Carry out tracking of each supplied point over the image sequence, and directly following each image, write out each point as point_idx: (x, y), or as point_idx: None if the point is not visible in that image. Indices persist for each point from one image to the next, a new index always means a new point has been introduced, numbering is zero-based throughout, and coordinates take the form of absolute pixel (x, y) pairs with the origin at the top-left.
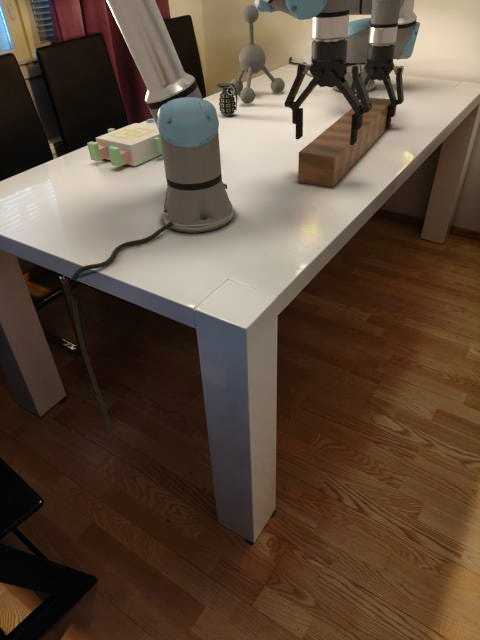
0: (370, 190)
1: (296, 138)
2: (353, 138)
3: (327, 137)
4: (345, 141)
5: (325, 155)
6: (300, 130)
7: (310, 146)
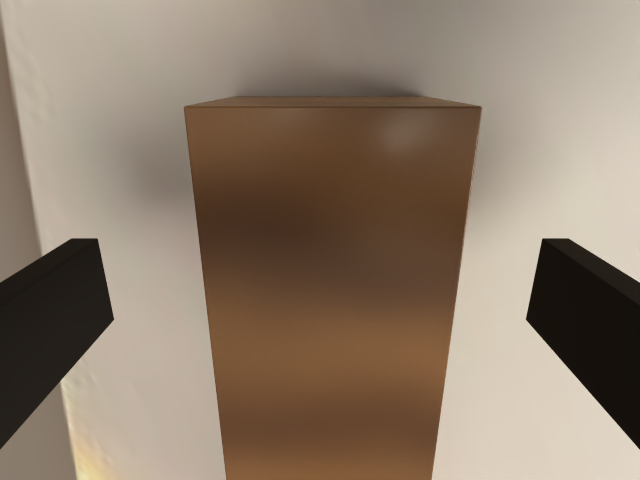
0: (61, 136)
1: (564, 241)
2: (39, 258)
3: (375, 427)
4: (246, 399)
5: (259, 109)
6: (567, 306)
7: (430, 252)
